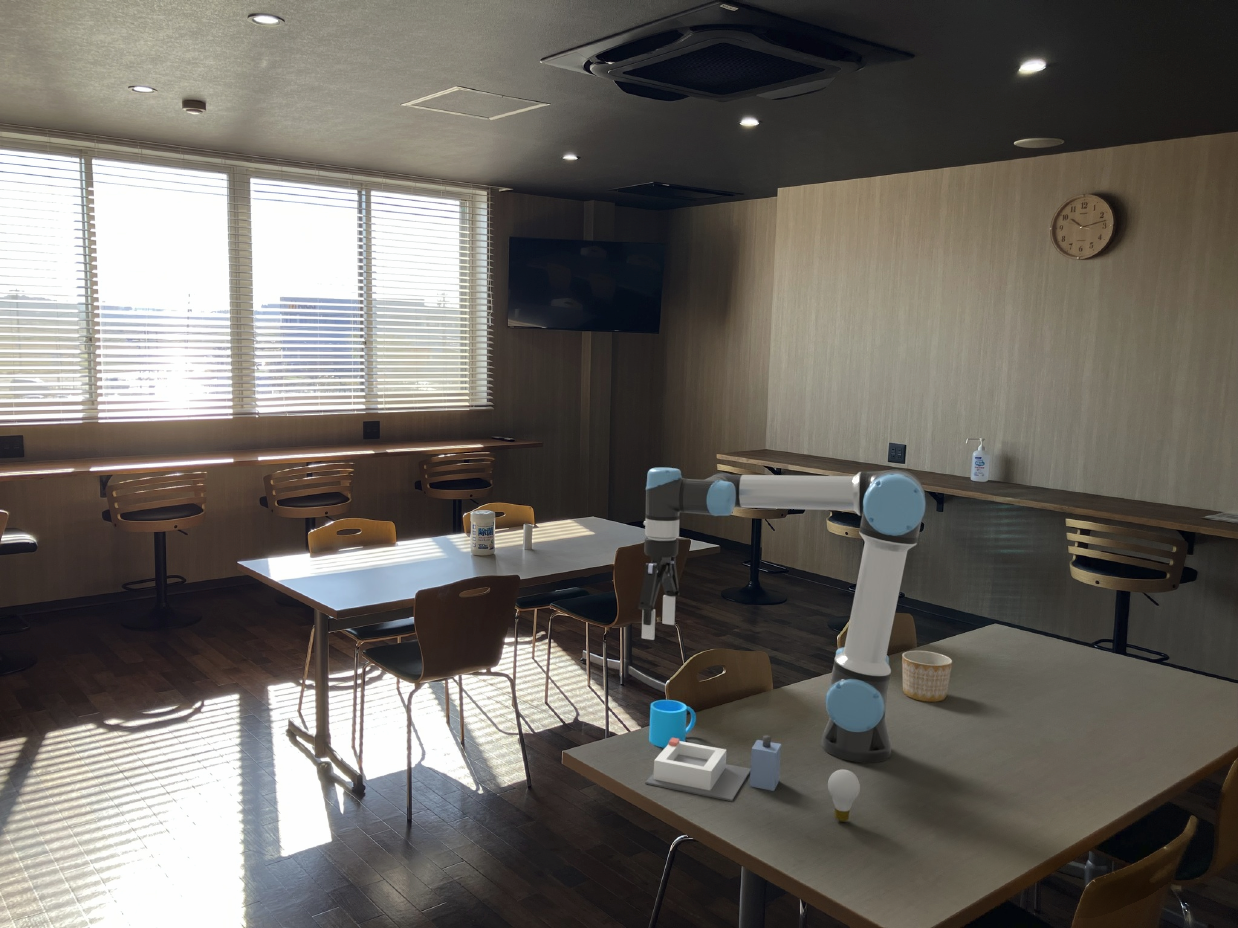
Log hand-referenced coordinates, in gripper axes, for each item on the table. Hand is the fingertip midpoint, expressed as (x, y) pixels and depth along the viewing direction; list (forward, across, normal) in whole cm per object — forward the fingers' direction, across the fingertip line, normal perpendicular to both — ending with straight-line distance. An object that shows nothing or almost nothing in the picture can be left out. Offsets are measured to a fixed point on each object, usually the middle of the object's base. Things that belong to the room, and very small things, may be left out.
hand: (658, 631), depth 214 cm
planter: (+26, -62, +54) cm, 87 cm away
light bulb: (+26, +21, +45) cm, 56 cm away
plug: (+26, +11, +28) cm, 39 cm away
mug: (+26, -3, +4) cm, 26 cm away
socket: (+25, +14, +15) cm, 33 cm away
